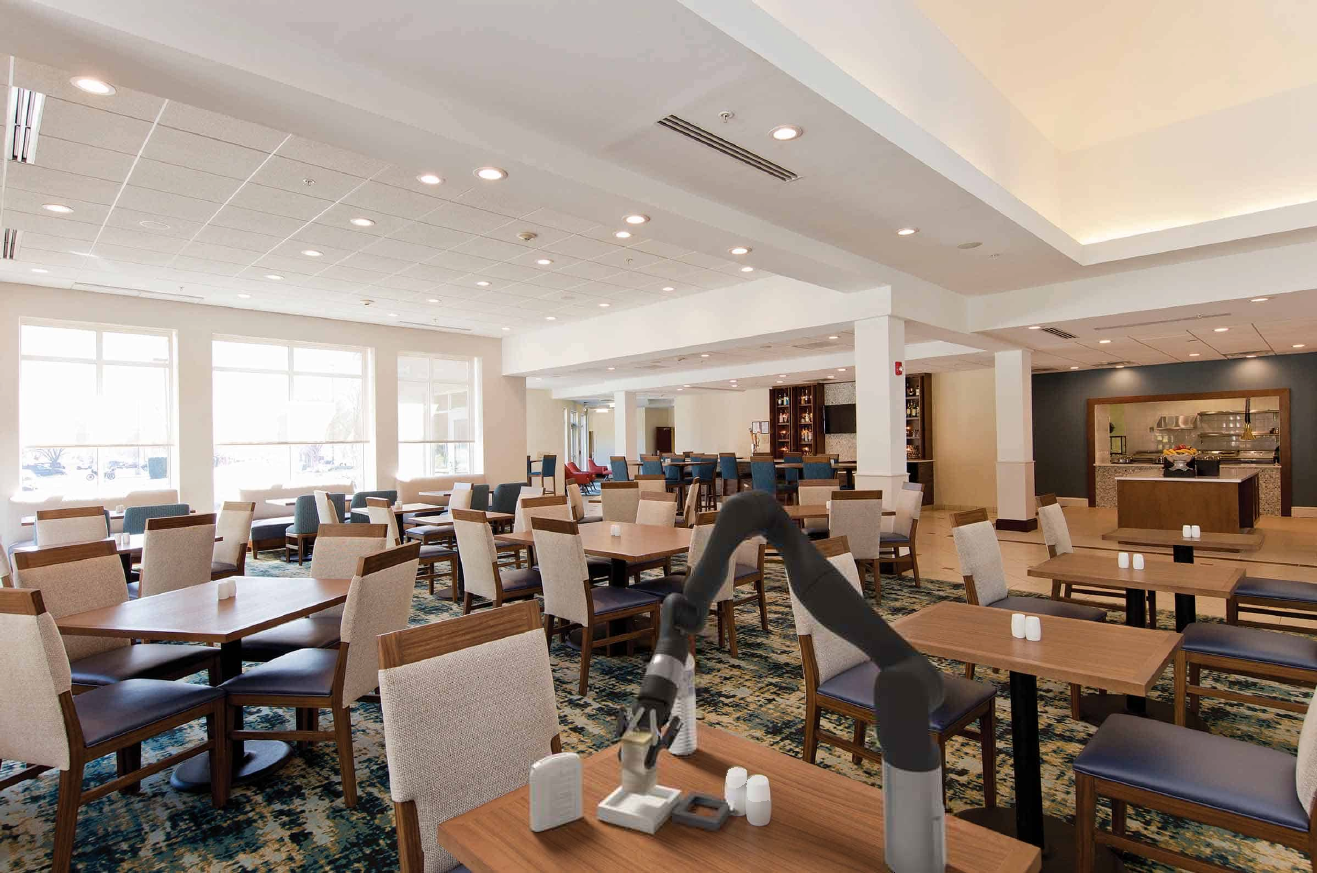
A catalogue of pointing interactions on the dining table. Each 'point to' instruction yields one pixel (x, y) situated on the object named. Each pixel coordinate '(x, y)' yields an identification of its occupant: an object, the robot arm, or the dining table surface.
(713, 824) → the plate
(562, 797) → the white rounded slab
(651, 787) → the key block
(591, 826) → the dining table surface
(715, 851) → the dining table surface
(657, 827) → the tray
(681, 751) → the water bottle
